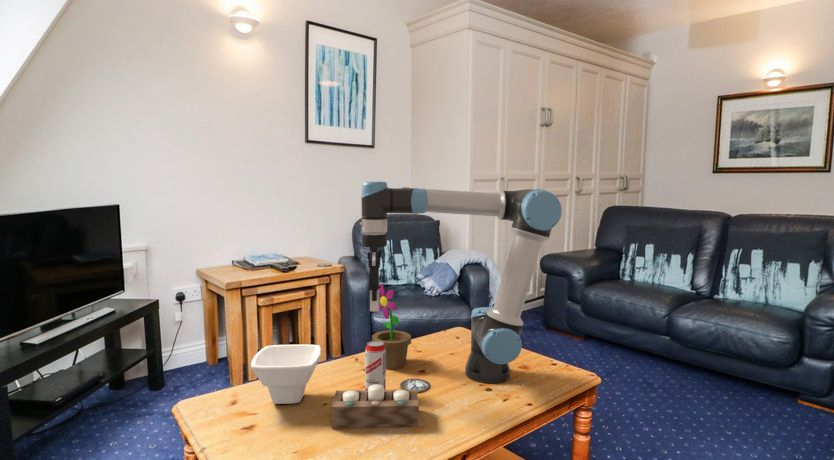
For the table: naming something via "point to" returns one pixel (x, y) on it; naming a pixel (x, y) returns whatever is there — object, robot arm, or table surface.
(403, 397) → the button
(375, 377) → the beer can
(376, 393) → the button middle
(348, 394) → the button
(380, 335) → the flowerpot
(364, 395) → the button board
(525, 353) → the table surface
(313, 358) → the bowl
